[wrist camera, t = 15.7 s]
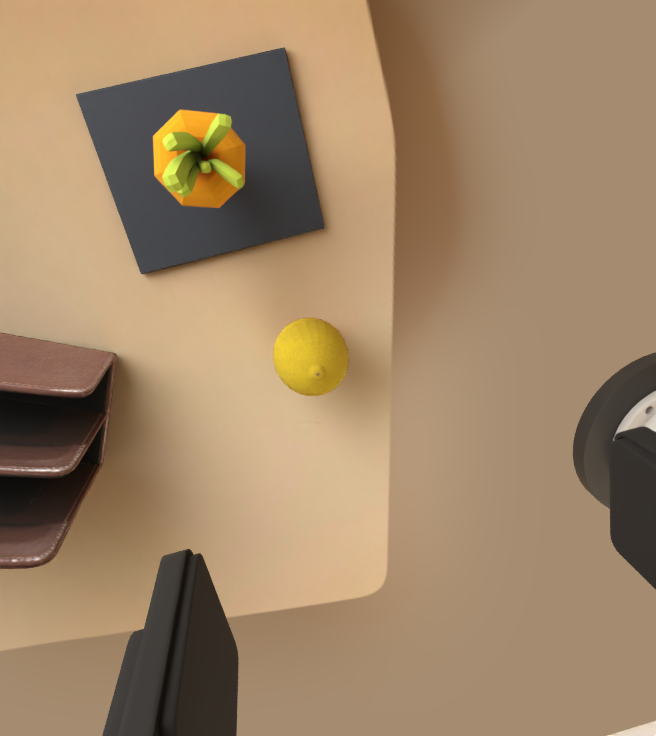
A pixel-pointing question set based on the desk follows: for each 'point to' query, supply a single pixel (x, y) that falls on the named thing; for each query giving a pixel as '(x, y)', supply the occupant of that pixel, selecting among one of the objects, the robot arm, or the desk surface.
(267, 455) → the desk surface
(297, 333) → the lemon
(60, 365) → the letter holder
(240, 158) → the carrot
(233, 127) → the mat
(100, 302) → the desk surface
